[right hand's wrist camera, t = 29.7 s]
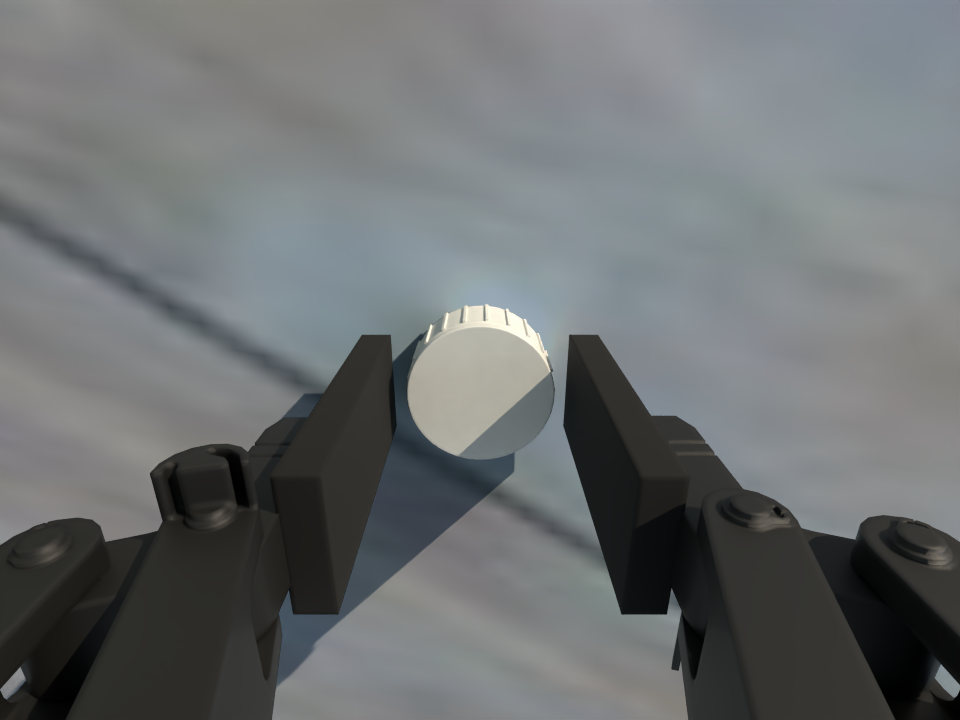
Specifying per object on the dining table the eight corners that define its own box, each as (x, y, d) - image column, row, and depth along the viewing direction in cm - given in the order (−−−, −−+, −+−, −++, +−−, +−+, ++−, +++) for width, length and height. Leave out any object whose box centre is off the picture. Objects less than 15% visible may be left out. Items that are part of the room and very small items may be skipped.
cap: (528, 286, 14) (535, 304, 12) (561, 408, 15) (572, 441, 14) (394, 324, 15) (382, 348, 13) (438, 441, 16) (433, 477, 14)
